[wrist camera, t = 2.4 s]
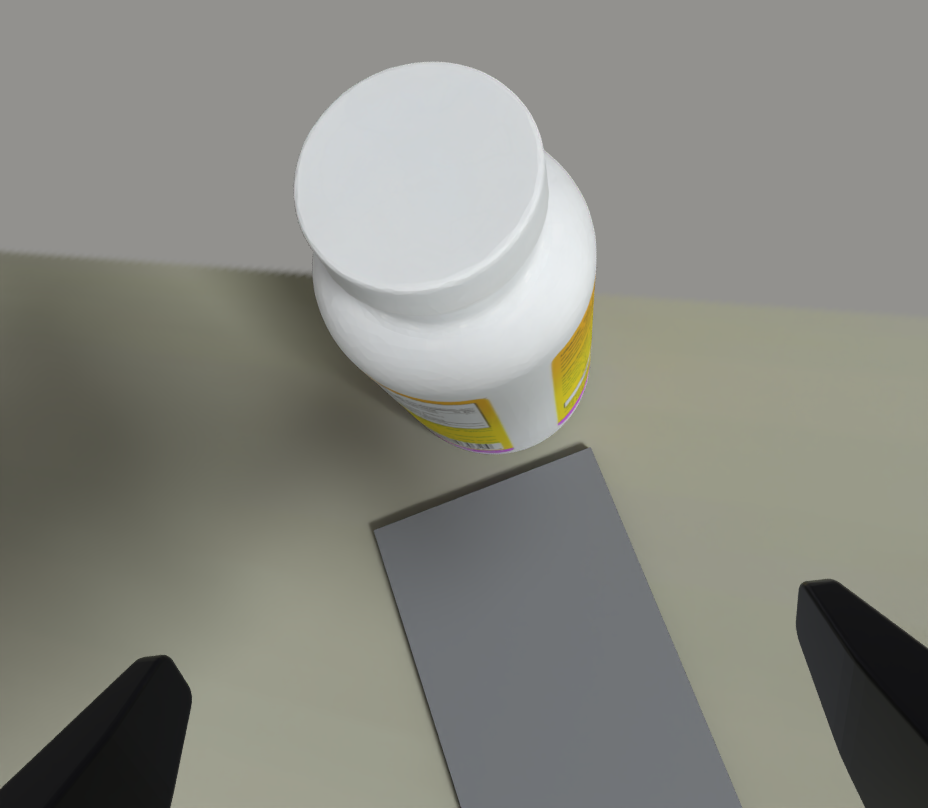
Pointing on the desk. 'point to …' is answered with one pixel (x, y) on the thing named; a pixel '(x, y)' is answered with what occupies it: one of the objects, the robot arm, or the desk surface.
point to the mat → (548, 650)
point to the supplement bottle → (451, 253)
